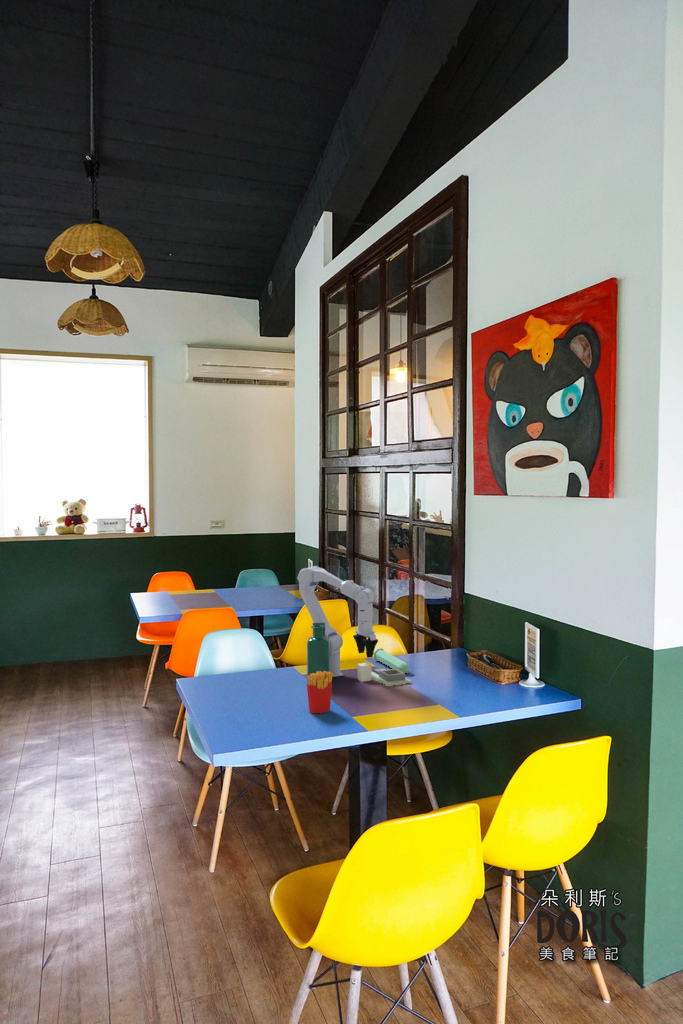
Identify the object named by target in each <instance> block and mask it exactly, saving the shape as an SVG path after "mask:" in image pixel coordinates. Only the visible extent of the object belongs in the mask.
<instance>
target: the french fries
mask: <svg viewBox="0 0 683 1024" xmlns="http://www.w3.org/2000/svg"><path fill="white" fill-rule="evenodd" d="M333 678H334V677H333V673H330V672H327V671H324V672H321V671H319V672H318V671H317V672H316V673H312V674H310V676H308V683H307V684H306V691H307V700H308V709H309V710H308V711H309V713H310V712H311V713H310V714H312V713H320V714H323V713H322V712H325V713H328V712H327V711H329V710H330V711H331V702H332V690H333ZM330 711H329V712H330Z"/></svg>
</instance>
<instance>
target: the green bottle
mask: <svg viewBox="0 0 683 1024" xmlns="http://www.w3.org/2000/svg"><path fill="white" fill-rule="evenodd" d="M311 629H312V636H310V637H308V639H307V642H306V668H307V669H306V675H307V677H306V678H307V679H306V680H307V684H308V676H310V674H312V673H316V672H317V671H318V672H319V671H321V672H324V671H327V672H330V640H329V638H328V637H325V623H314V622H312V625H311Z"/></svg>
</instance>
